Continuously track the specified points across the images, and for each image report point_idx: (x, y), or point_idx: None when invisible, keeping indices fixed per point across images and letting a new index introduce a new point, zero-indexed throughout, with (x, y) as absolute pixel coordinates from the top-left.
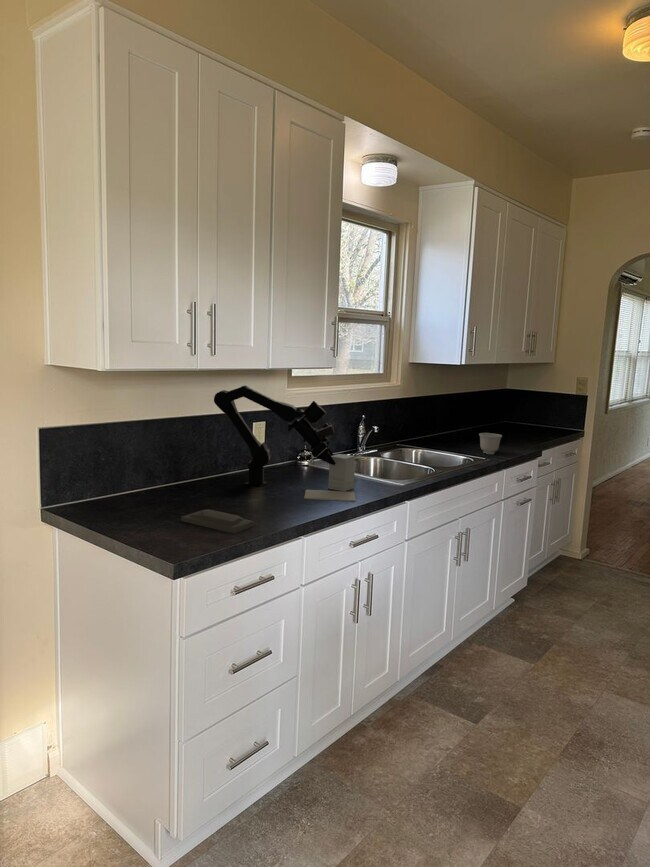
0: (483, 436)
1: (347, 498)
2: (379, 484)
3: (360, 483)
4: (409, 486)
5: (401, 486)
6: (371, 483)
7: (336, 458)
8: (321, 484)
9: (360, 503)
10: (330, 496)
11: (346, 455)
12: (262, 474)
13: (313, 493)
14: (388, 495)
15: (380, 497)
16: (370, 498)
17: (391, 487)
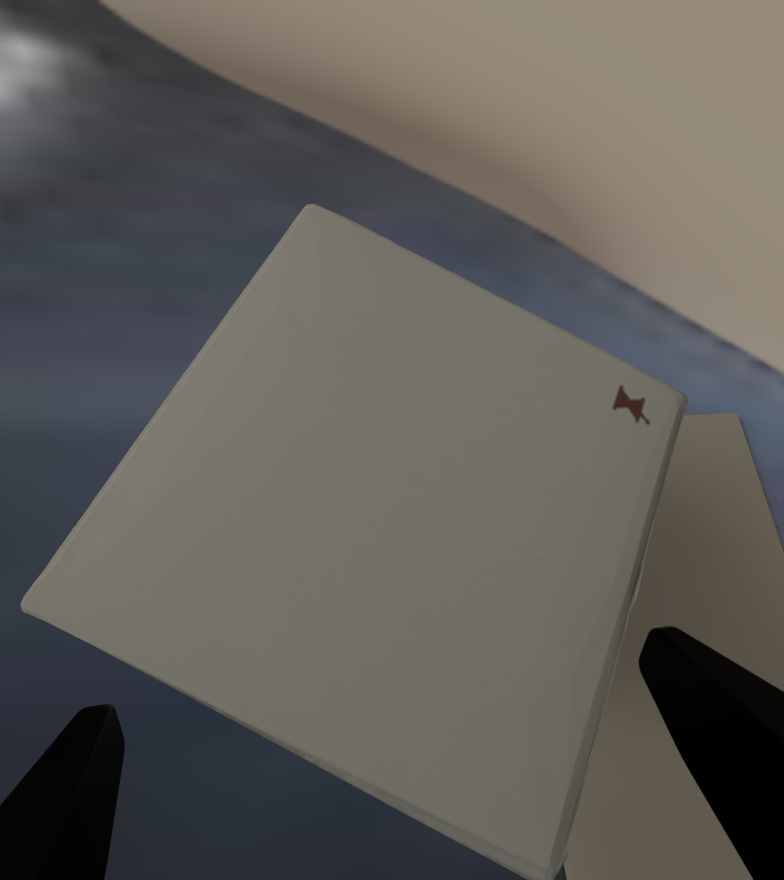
0: None
1: (721, 473)
2: (57, 212)
3: (38, 377)
4: (96, 16)
5: (108, 66)
6: (20, 276)
7: (616, 629)
8: (182, 836)
9: (752, 382)
10: (732, 624)
11: (302, 384)
12: None
13: (710, 825)
14: (450, 190)
15: (531, 246)
16: (589, 312)
17: (166, 138)
